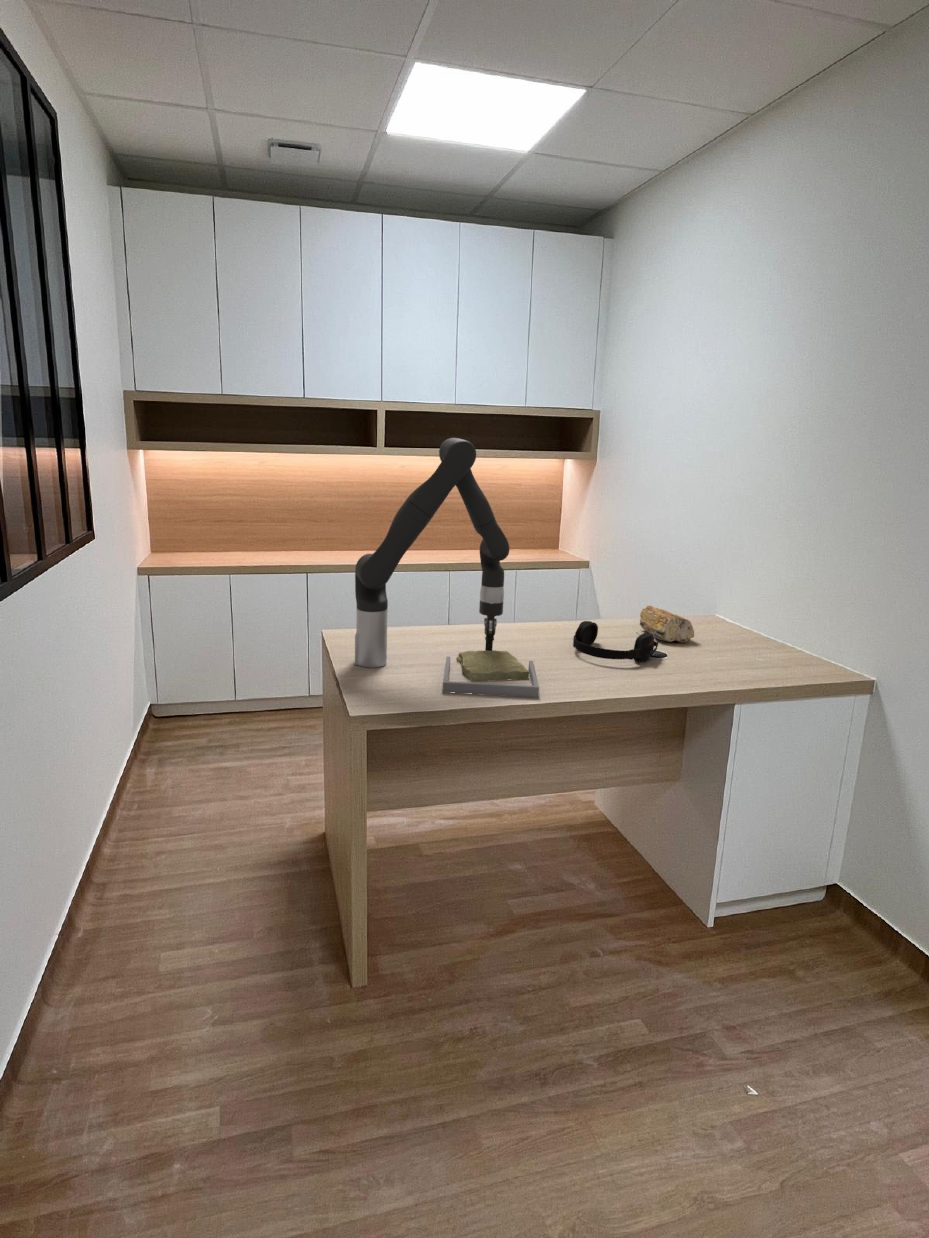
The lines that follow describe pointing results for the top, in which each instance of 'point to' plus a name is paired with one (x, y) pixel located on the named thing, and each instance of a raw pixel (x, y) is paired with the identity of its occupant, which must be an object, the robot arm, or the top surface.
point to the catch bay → (492, 685)
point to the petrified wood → (666, 625)
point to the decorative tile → (491, 666)
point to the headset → (640, 652)
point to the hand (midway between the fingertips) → (488, 651)
